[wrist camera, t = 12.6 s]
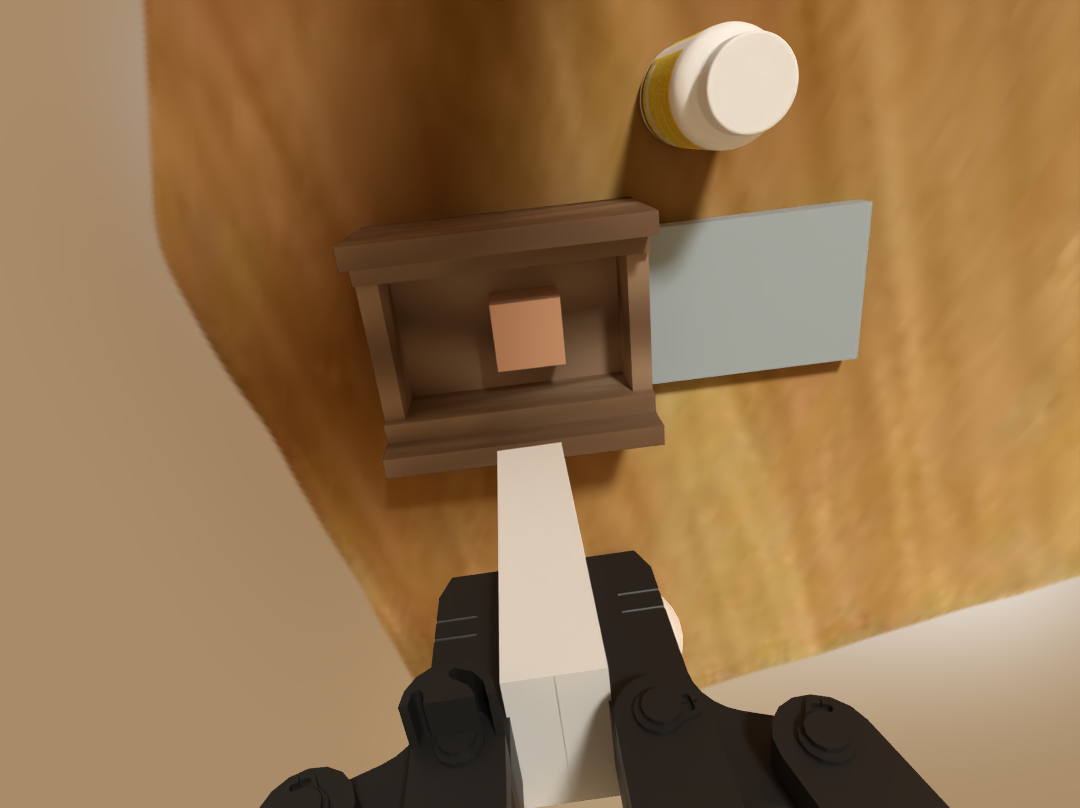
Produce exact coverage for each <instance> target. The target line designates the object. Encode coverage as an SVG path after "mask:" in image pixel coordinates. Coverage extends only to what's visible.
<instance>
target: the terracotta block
mask: <svg viewBox="0 0 1080 808" xmlns="http://www.w3.org/2000/svg"><path fill="white" fill-rule="evenodd" d="M489 309H490V316H491V323H492V330H493V338H494V345H495V352H496V359H497V366H498V372H504V371H512V370H520V369H529V368H537V367H545V366H553V365H562V364H566V359H565V348H564V337H563V326H562V315H561V304H560V296H559V294H558V291H557V289H556V287H555V286H546V287H538V288H529V289H521V290H512V291H504V292H495V293H489Z"/></svg>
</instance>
